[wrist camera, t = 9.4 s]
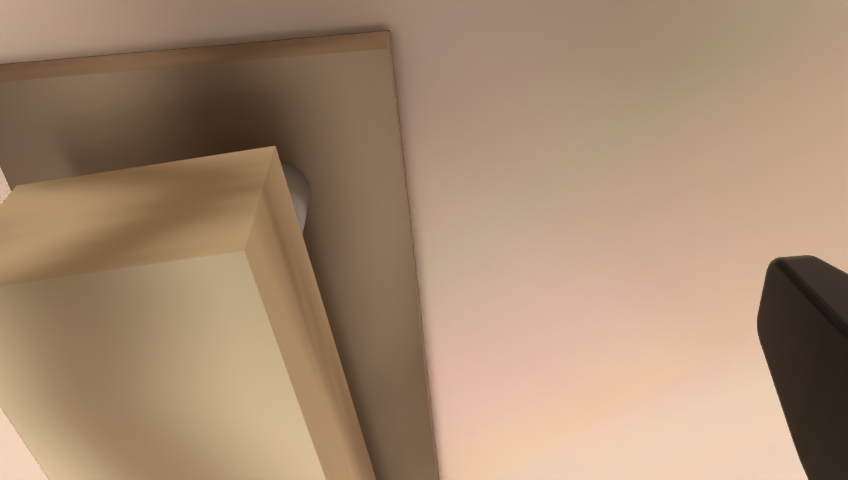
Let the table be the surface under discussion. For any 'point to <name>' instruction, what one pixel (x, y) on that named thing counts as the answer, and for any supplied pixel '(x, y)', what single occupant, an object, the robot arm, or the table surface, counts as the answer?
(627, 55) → the table surface
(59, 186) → the beige wooden block
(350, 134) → the peg stand
